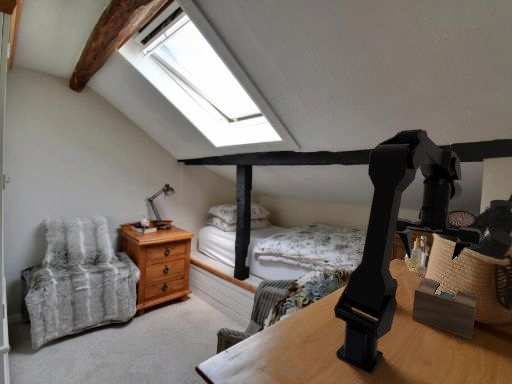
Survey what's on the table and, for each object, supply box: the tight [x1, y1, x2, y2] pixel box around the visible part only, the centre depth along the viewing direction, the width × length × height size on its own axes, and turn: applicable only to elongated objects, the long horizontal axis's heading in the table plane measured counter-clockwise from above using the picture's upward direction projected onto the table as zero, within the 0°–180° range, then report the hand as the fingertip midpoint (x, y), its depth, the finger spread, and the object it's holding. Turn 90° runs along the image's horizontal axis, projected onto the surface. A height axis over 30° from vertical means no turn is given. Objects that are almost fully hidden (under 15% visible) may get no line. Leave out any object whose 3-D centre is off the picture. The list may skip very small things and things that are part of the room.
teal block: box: [440, 291, 454, 299], centre depth 64 cm, size 6×2×5 cm, turn 141°
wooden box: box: [411, 277, 478, 341], centre depth 64 cm, size 11×11×7 cm
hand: (429, 262), depth 70 cm, fingers open, 9 cm apart
